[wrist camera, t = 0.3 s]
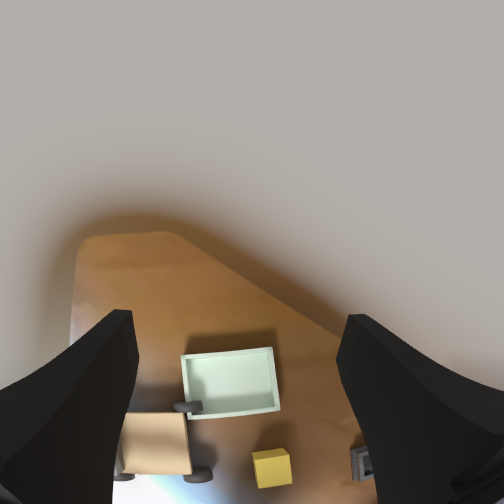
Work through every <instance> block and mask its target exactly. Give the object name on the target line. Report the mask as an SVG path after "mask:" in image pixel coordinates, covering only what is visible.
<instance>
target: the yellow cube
mask: <svg viewBox="0 0 504 504" xmlns="http://www.w3.org/2000/svg"><path fill="white" fill-rule="evenodd" d="M252 456H253V463H254V470H255V477H256V481H257V485H258V488H259V489H260V488H267V487H273V486H279V485H285V484H291V483H292V475H291V467H290V459H289V454H288V453H287V452H286V451H285V449H284V448H279V449H272V450H266V451H258V452H252Z"/></svg>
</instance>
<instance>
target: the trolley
mask: <svg viewBox="0 0 504 504" xmlns="http://www.w3.org/2000/svg"><path fill="white" fill-rule="evenodd" d="M172 403H173V411H174V412H127V413H126V416H125V419H124V423H123V426H122V430H121V434H120V438H119V442H118V447H117V454H116V462H115V470H114V481H129V480H132V479H134V478H135V474H155V475H183V477H184V481H185V482H188V483H204V482H208V481H210V480H212V479H213V474H212V469H211V468H209V467H192V461H191V455H190V449H189V442H188V435H187V428H186V420H185V413H191V412H199V411H203V404H202V400H196V401H191V402H186V401H177V402H172Z"/></svg>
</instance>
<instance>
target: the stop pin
mask: <svg viewBox="0 0 504 504" xmlns="http://www.w3.org/2000/svg"><path fill="white" fill-rule="evenodd" d="M363 465H364V467H365V468H367V469H369V470H371V471H373V470H372V466H371V461H370V457H369V455H366V456H365V457H364V458H363Z"/></svg>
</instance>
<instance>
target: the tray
mask: <svg viewBox="0 0 504 504" xmlns="http://www.w3.org/2000/svg"><path fill="white" fill-rule="evenodd" d="M181 363H182V373H183V383H184V392H185V400H186V402H191V401H196V400H202V404H203V411H199V412H191V413H187V417H188V420H192V419H208V418H221V417H232V416H242V415H250V414H258V413H266V412H273V411H279V410H280V402H279V394H278V387H277V379H276V372H275V364H274V357H273V349H272V347H265V348H256V349H247V350H238V351H228V352H216V353H204V354H190V355H181Z"/></svg>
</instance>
